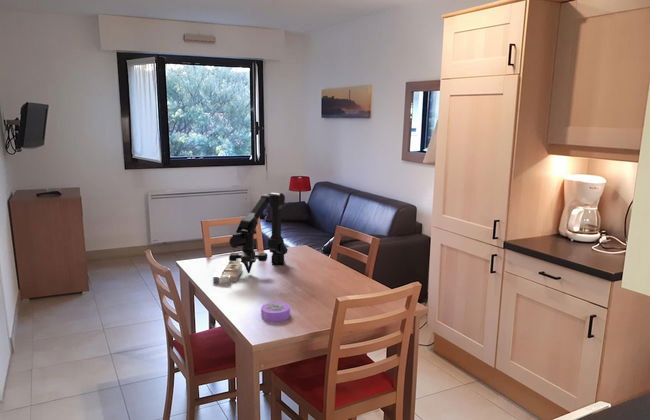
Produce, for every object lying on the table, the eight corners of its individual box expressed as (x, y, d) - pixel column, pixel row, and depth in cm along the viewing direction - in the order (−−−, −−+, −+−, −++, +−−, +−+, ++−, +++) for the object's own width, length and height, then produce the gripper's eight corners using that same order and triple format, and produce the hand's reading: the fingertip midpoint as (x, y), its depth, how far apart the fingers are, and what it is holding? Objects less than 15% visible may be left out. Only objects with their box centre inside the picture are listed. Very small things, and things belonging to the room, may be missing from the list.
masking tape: (255, 317, 194) (255, 308, 194) (273, 308, 204) (273, 299, 203) (277, 324, 188) (277, 315, 187) (295, 314, 198) (295, 306, 197)
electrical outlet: (221, 274, 234) (228, 263, 252) (221, 282, 235) (228, 270, 253) (235, 274, 234) (241, 263, 252) (235, 282, 235) (242, 271, 253)
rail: (240, 265, 261) (239, 258, 260) (229, 284, 231) (229, 277, 230) (225, 265, 261) (225, 258, 260) (212, 284, 230) (212, 277, 230)
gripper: (226, 247, 235) (227, 278, 238) (264, 248, 235) (264, 278, 238) (230, 241, 246) (231, 270, 249) (267, 242, 246) (267, 271, 249)
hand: (248, 273), depth 246 cm, fingers closed
